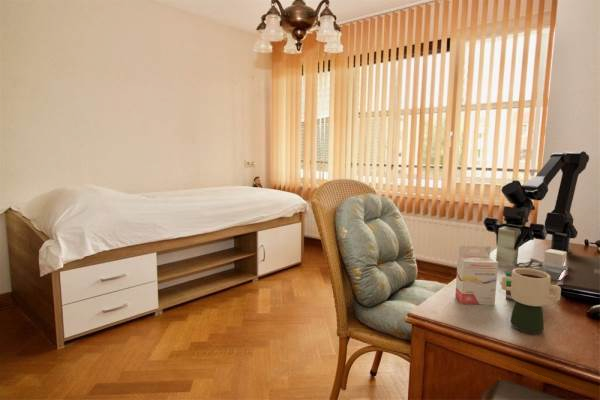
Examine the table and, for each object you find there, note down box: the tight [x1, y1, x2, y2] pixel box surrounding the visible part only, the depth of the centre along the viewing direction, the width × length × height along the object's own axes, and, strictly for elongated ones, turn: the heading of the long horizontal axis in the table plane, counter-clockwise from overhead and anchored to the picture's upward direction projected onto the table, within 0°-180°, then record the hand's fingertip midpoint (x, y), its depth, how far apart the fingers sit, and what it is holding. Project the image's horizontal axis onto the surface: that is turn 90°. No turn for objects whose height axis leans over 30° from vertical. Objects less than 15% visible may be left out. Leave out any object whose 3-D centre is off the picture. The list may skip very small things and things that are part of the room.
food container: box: [504, 257, 546, 303], centre depth 90 cm, size 12×6×10 cm, turn 117°
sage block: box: [495, 227, 520, 268], centre depth 119 cm, size 5×5×13 cm
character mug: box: [500, 268, 562, 334], centre depth 76 cm, size 11×7×13 cm, turn 52°
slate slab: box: [540, 260, 567, 282], centre depth 110 cm, size 9×9×3 cm
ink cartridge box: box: [455, 245, 499, 306], centre depth 90 cm, size 9×5×15 cm, turn 84°
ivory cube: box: [543, 248, 568, 266], centre depth 118 cm, size 5×5×5 cm
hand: (506, 247), depth 118 cm, fingers closed on sage block, 5 cm apart
